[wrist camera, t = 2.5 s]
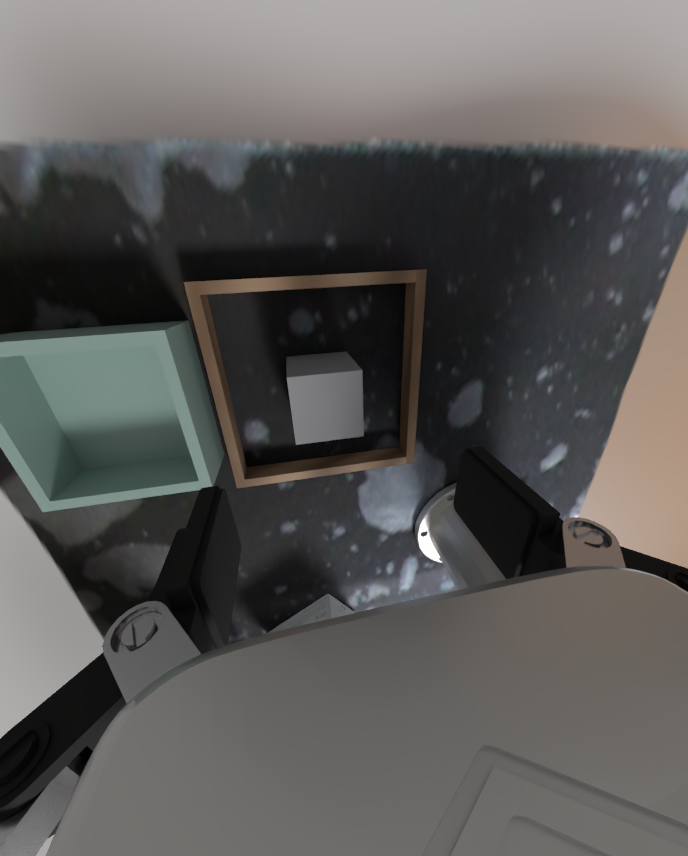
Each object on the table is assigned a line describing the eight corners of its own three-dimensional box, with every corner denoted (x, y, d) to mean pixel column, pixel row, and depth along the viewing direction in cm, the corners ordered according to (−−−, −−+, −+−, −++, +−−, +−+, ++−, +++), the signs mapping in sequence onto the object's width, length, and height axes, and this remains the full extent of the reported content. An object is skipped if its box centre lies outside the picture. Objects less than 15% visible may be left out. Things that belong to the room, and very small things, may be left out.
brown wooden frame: (415, 270, 23) (426, 269, 22) (406, 452, 31) (413, 462, 29) (191, 282, 21) (183, 282, 19) (240, 475, 29) (237, 488, 27)
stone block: (346, 351, 25) (362, 370, 20) (348, 406, 28) (363, 436, 22) (286, 356, 25) (286, 377, 19) (293, 412, 27) (295, 444, 22)
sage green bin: (188, 320, 22) (164, 330, 18) (224, 454, 27) (212, 487, 23) (10, 332, 21) (-65, 346, 16) (84, 472, 26) (42, 512, 21)
